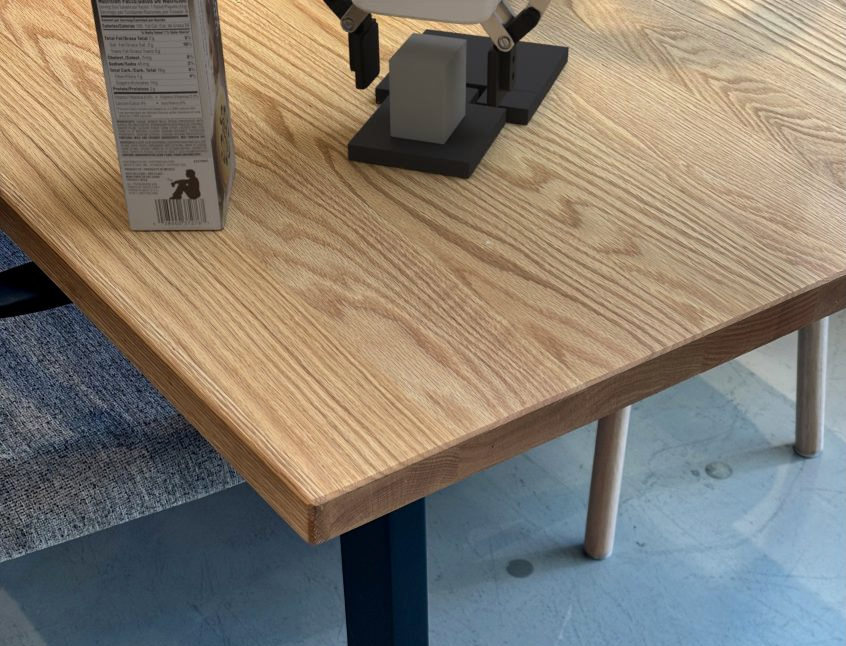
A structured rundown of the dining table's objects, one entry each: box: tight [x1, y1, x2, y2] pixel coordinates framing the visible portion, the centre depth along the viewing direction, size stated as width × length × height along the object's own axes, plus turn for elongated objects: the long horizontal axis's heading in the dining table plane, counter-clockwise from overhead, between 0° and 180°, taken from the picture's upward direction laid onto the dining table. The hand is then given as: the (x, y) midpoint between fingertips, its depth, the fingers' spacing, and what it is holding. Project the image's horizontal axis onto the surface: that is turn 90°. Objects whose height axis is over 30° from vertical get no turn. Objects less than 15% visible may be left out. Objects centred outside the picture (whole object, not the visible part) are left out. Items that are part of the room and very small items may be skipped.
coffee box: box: [90, 0, 237, 231], centre depth 84 cm, size 9×6×16 cm
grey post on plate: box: [346, 32, 507, 179], centre depth 94 cm, size 9×12×7 cm
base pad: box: [374, 28, 570, 125], centre depth 103 cm, size 12×12×1 cm
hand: (432, 90), depth 93 cm, fingers open, 9 cm apart
